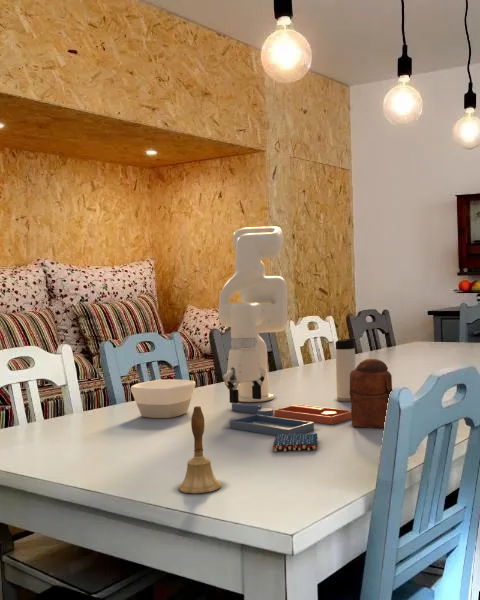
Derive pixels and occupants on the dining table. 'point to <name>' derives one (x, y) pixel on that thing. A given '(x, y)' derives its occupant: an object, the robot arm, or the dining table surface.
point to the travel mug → (344, 367)
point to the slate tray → (271, 425)
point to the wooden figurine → (370, 393)
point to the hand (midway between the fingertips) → (245, 400)
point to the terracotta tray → (340, 416)
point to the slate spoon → (252, 409)
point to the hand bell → (198, 462)
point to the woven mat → (295, 441)
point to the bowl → (163, 397)
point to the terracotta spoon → (312, 410)
